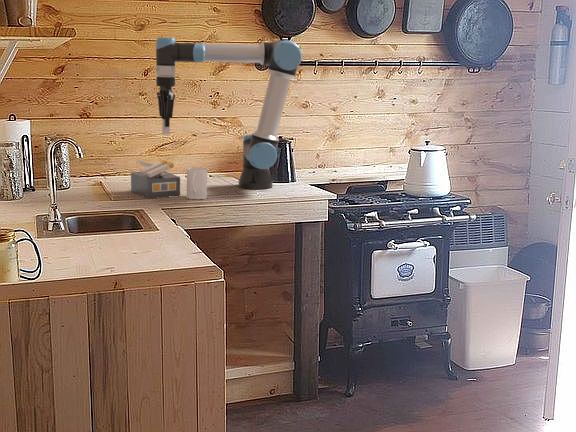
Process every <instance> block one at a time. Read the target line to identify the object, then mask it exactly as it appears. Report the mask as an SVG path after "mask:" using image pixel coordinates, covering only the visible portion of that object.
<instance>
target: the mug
mask: <svg viewBox="0 0 576 432" xmlns="http://www.w3.org/2000/svg"><path fill="white" fill-rule="evenodd" d="M207 176H208V169H207V168H206V167H200V166H199V167H197V166H196V167H195V166H193V167H187V168H186V196H185V198H186V197H187V198H189V199H188V200H192V199H203V200H206V199H208V193H207V192H208V191H207V190H208V189H207V188H208V185H207V184H208V181H207V180H208V177H207ZM187 198H186V199H187Z"/></svg>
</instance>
